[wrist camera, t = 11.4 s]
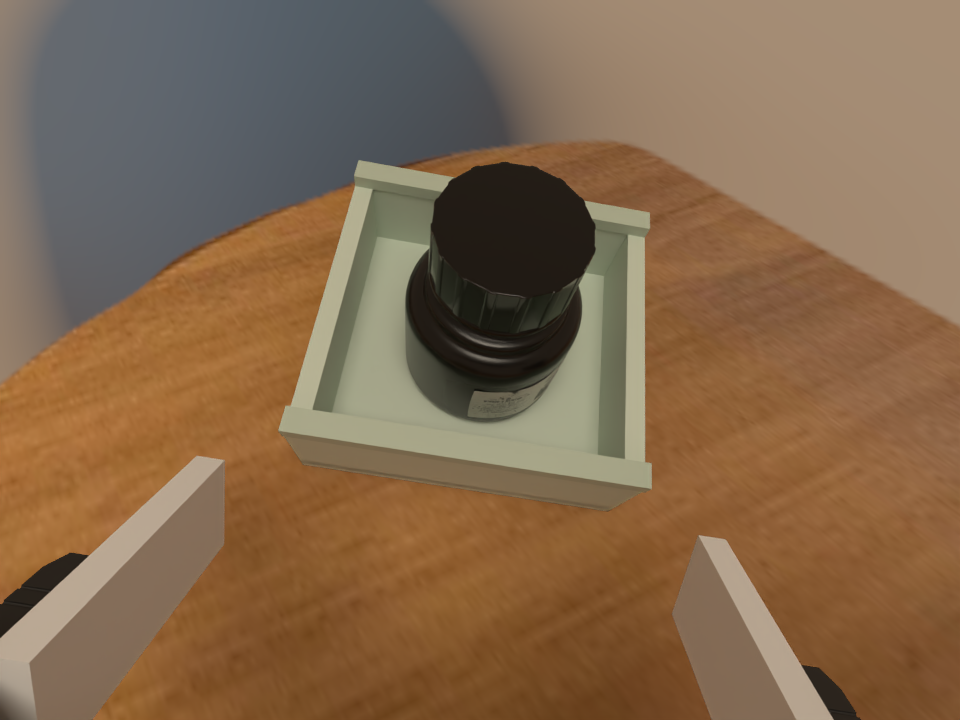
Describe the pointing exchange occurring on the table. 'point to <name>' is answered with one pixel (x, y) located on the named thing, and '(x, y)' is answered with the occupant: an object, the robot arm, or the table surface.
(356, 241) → the tray
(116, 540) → the robot arm
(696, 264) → the table surface
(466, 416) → the ink bottle
